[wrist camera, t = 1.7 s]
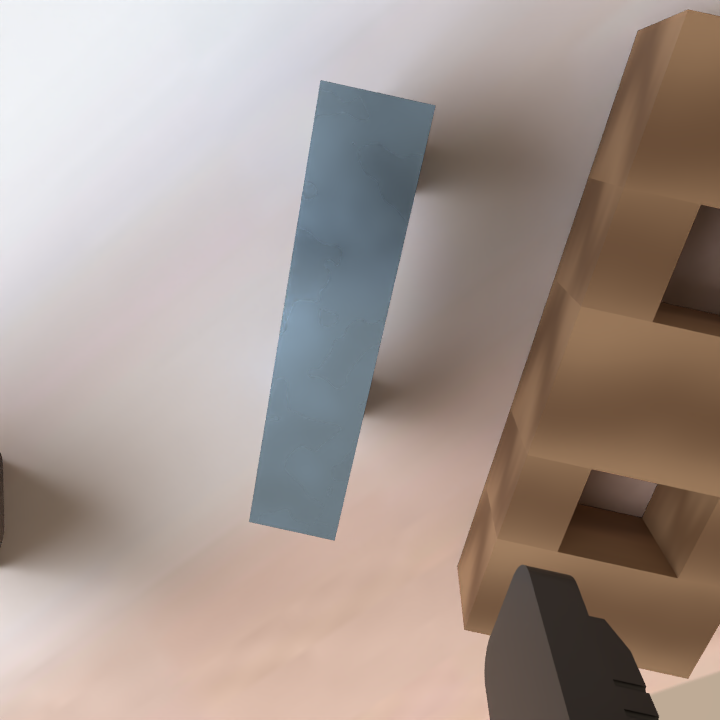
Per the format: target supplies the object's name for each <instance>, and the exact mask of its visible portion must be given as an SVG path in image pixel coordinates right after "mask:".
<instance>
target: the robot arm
mask: <svg viewBox="0 0 720 720" xmlns="http://www.w3.org/2000/svg"><path fill="white" fill-rule="evenodd" d="M3 534H4V506H3V463H2V456H1V453H0V546H1V543H2V539H3ZM485 687H486V694H487V701H488V708H489V715H490V720H658V718H659V715H658V713H657V711H656V708H655V706H654V704H653V701H652V699H651V697H650V694H649V693H646V691H645V688H646V685H645V683H644V681H643V678H642V676H641V674H640V671H639V669H638V667H637V664H636V662H635V660H634V657H633V655H632V653H631V651H630V650H629V648H628V647H627V646H626V645H625V643H624V642H623V641H622V640H621V639H620V637H619V636H618V635H617V634H616V633H615V631H614V630H613V629H612V628H611V626H610V625H609V624H608V623H607V622H606V620H605V619H602V618H597V617H593V616H589V614H588V612H587V609H586V606H585V604H584V601H583V598H582V596H581V593H580V590H579V588H578V585H577V583H576V581H575V579H574V578H573V577H572V576H571V575H567V574H563V573H558V572H554V571H549V570H545V569H540V568H535V567H531V566H526V565H520V566H519V567H518V568H517V569H516V571H515V573H514V575H513V578H512V580H511V583H510V586H509V588H508V591H507V594H506V596H505V599H504V601H503V604H502V607H501V609H500V612H499V615H498V617H497V620H496V622H495V625H494V628H493V630H492V633H491V636H490V638H489V642H488V646H487V651H486V658H485Z"/></svg>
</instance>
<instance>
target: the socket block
mask: <svg viewBox="0 0 720 720" xmlns="http://www.w3.org/2000/svg"><path fill="white" fill-rule="evenodd" d="M701 205H705V206H710V207H714V208H719V209H720V16H715V15H711V14H706V13H702V12H697V11H693V10H686V11H683V12H681V13H679V14H676V15H674V16H672V17H669V18H667V19H665V20H662V21H660V22H658V23H655V24H653V25H651V26H648V27H646V28H644V29H641V30H639V31H638V32H637V35H636V38H635V41H634V44H633V47H632V50H631V53H630V56H629V59H628V62H627V65H626V68H625V71H624V74H623V76H622V79H621V82H620V85H619V88H618V91H617V94H616V97H615V100H614V103H613V106H612V109H611V112H610V115H609V118H608V121H607V124H606V127H605V130H604V133H603V136H602V139H601V142H600V145H599V148H598V151H597V154H596V157H595V160H594V163H593V166H592V169H591V172H590V174H589V177H588V180H587V183H586V186H585V189H584V192H583V195H582V198H581V201H580V204H579V207H578V210H577V213H576V216H575V219H574V222H573V225H572V228H571V231H570V234H569V237H568V240H567V243H566V246H565V249H564V252H563V255H562V258H561V261H560V264H559V267H558V270H557V272H556V275H555V278H554V281H553V284H552V287H551V290H550V293H549V296H548V299H547V302H546V305H545V308H544V311H543V314H542V317H541V320H540V323H539V326H538V329H537V332H536V335H535V338H534V341H533V344H532V347H531V350H530V353H529V356H528V359H527V362H526V365H525V368H524V370H523V373H522V376H521V379H520V382H519V385H518V388H517V391H516V394H515V397H514V400H513V403H512V406H511V409H510V412H509V415H508V418H507V421H506V424H505V427H504V430H503V433H502V436H501V439H500V442H499V445H498V448H497V451H496V454H495V457H494V460H493V463H492V466H491V468H490V471H489V474H488V477H487V480H486V483H485V486H484V489H483V492H482V495H481V498H480V501H479V504H478V507H477V510H476V513H475V516H474V519H473V522H472V525H471V528H470V531H469V534H468V537H467V540H466V543H465V546H464V549H463V552H462V555H461V558H460V561H459V564H458V566H457V567H458V576H459V585H460V594H461V604H462V613H463V622H464V630H468V631H472V632H477V633H481V634H486V635H491V633H492V630H493V628H494V625H495V622H496V620H497V617H498V615H499V612H500V609H501V607H502V604H503V601H504V599H505V596H506V594H507V591H508V588H509V586H510V583H511V580H512V578H513V575H514V573H515V571H516V569H517V568H518V567H519V566H520V565H526V566H531V567H535V568H540V569H545V570H549V571H554V572H558V573H563V574H567V575H571V576H572V577H573V578H574V579H575V581H576V583H577V585H578V588H579V590H580V593H581V596H582V598H583V601H584V604H585V606H586V609H587V612H588V614H589V616H593V617H597V618H602V619H605V620H606V622H607V623H608V624H609V625H610V626H611V628H612V629H613V630H614V631H615V633H616V634H617V635H618V636H619V637H620V639H621V640H622V641H623V642H624V643H625V645H626V646H627V647H628V648H629V650H630V651H631V653H632V655H633V657H634V660H635V662H636V664H637V667H638V668H641V669H646V670H650V671H655V672H660V673H664V674H669V675H673V676H678V677H682V678H687V679H688V678H689V676H690V674H691V673H692V671H693V669H694V667H695V666H696V664H697V662H698V661H699V659H700V657H701V655H702V654H703V652H704V650H705V648H706V647H707V645H708V643H709V641H710V640H711V638H712V636H713V635H714V633H715V631H716V629H717V628H718V626H719V624H720V315H717V314H712V313H708V312H703V311H698V310H694V309H689V308H685V307H680V306H676V305H671V304H667V303H662V302H661V300H662V298H663V295H664V293H665V290H666V288H667V286H668V283H669V281H670V278H671V276H672V273H673V271H674V269H675V266H676V264H677V261H678V259H679V257H680V254H681V252H682V249H683V247H684V244H685V242H686V240H687V237H688V235H689V232H690V230H691V227H692V225H693V223H694V220H695V218H696V215H697V213H698V211H699V208H700V206H701ZM592 469H593V470H598V471H602V472H607V473H611V474H616V475H620V476H625V477H630V478H634V479H639V480H643V481H648V482H652V483H657V484H658V485H657V487H656V489H655V491H654V493H653V495H652V497H651V500H650V502H649V504H648V506H647V508H646V510H645V512H644V515H643V517H642V518H640V517H635V516H631V515H626V514H622V513H617V512H613V511H608V510H603V509H599V508H594V507H590V506H585V505H581V504H577V503H578V501H579V499H580V496H581V494H582V491H583V489H584V487H585V484H586V482H587V479H588V477H589V474H590V472H591V470H592Z"/></svg>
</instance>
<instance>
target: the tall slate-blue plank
mask: <svg viewBox="0 0 720 720" xmlns="http://www.w3.org/2000/svg"><path fill="white" fill-rule="evenodd" d="M434 110H435V105H431V104H426V103H422V102H417V101H413V100H408V99H404V98H399V97H395V96H390V95H386V94H381V93H376V92H372V91H367V90H363V89H358V88H354V87H349V86H345V85H340V84H336V83H331V82H327V81H322V80H321V81H320V88H319V94H318V100H317V106H316V112H315V118H314V125H313V131H312V137H311V143H310V149H309V156H308V162H307V168H306V174H305V180H304V186H303V193H302V199H301V205H300V211H299V217H298V223H297V230H296V236H295V242H294V248H293V254H292V261H291V267H290V273H289V279H288V285H287V291H286V298H285V304H284V310H283V316H282V322H281V329H280V335H279V341H278V347H277V353H276V359H275V366H274V372H273V378H272V384H271V390H270V396H269V403H268V409H267V415H266V421H265V427H264V434H263V440H262V446H261V452H260V458H259V464H258V471H257V477H256V483H255V489H254V495H253V501H252V508H251V514H250V520H249V522H252V523H257V524H262V525H266V526H271V527H275V528H280V529H284V530H289V531H293V532H298V533H303V534H307V535H312V536H316V537H321V538H325V539H330V540H334V541H335V537H336V532H337V528H338V524H339V519H340V515H341V511H342V506H343V502H344V498H345V493H346V489H347V485H348V481H349V476H350V472H351V468H352V463H353V459H354V455H355V450H356V446H357V442H358V437H359V433H360V429H361V425H362V420H363V416H364V412H365V407H366V403H367V399H368V394H369V390H370V386H371V381H372V377H373V373H374V369H375V364H376V360H377V356H378V351H379V347H380V343H381V338H382V334H383V330H384V325H385V321H386V317H387V313H388V308H389V304H390V300H391V295H392V291H393V287H394V282H395V278H396V274H397V269H398V265H399V261H400V257H401V252H402V248H403V244H404V239H405V235H406V231H407V226H408V222H409V218H410V213H411V209H412V205H413V201H414V196H415V192H416V188H417V183H418V179H419V175H420V170H421V166H422V162H423V157H424V153H425V149H426V145H427V140H428V136H429V132H430V127H431V123H432V119H433V114H434Z"/></svg>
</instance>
